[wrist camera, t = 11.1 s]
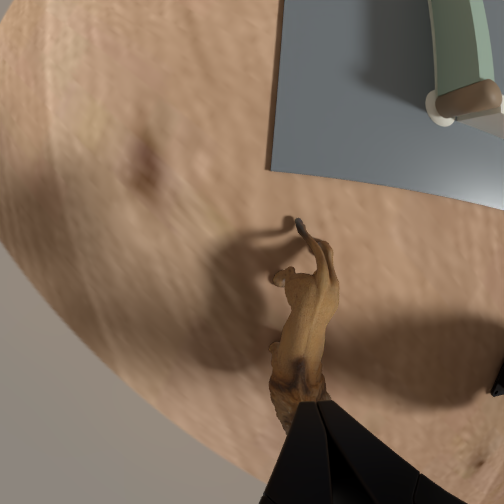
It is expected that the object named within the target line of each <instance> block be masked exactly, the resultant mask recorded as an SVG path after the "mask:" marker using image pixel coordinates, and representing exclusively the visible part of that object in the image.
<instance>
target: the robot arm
mask: <svg viewBox="0 0 504 504" xmlns="http://www.w3.org/2000/svg"><path fill="white" fill-rule="evenodd" d="M503 394H504V364H503V366H502V368H501V371H500V373H499V375H498V378H497V380H496V382H495V384H494V386H493V389H492V391H491V395H492V396H493V397H495V396H499V395H503ZM419 474H420V472H419V471H418V470H417V469H415V468H414V467H413V466H412V465H410V464H409V463H408V462H407V461H405V460H404V459H403V458H402V457H400V456H399V455H398V454H397V453H395V452H394V451H393V450H392V449H390V448H389V447H388V446H387V445H385V444H384V443H383V442H382V441H380V440H379V439H378V438H377V437H376V436H374V435H373V434H372V433H371V432H370V431H368V430H367V429H366V428H365V427H364V426H362V425H361V424H360V423H359V422H358V421H356V420H355V419H354V418H353V417H352V416H351V415H349V414H348V413H347V412H346V411H345V410H343V409H342V408H341V407H340V406H339V405H338V404H337V403H335V402H334V401H333V400H320V401H317V402H314V401H302V402H299V404H298V407H297V409H296V412H295V415H294V418H293V421H292V423H291V426H290V429H289V431H288V434H287V437H286V439H285V442H284V444H283V447H282V450H281V452H280V455H279V457H278V460H277V462H276V465H275V467H274V470H273V472H272V474H271V477H270V479H269V482H268V484H267V486H266V489H265V491H264V493H263V496H262V497H261V499H260V502H259V504H467V503H466V502H464V501H462V500H460V499H459V498H457V497H455V496H454V495H452V494H450V493H449V492H447V491H445V490H444V489H443V488H441V487H440V486H438V485H437V484H435V483H434V482H433V481H431V480H430V479H429V478H427V477H426V476H425V475H423V474H420V475H419Z"/></svg>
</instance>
